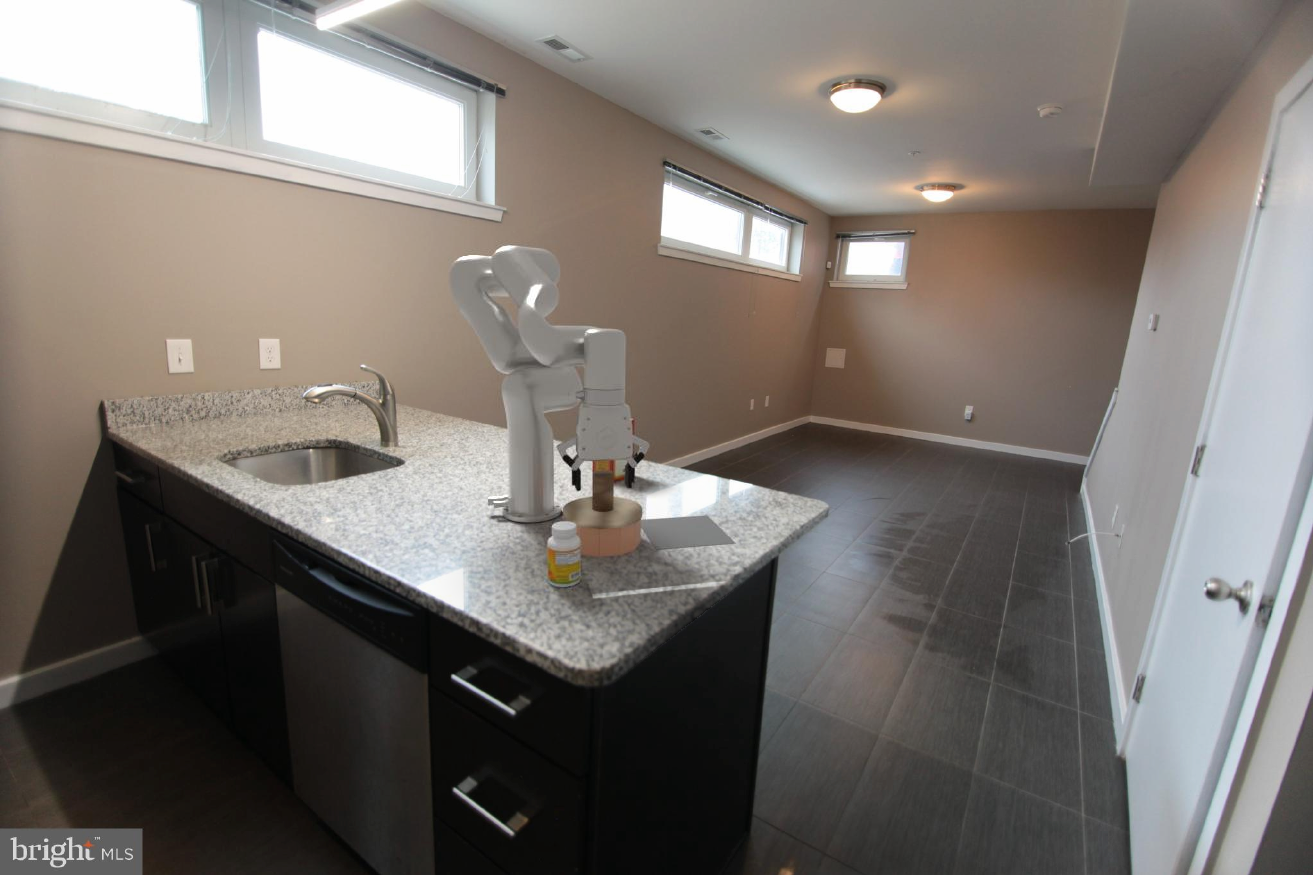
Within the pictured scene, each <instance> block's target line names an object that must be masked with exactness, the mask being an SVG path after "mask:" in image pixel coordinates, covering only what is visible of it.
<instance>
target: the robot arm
mask: <svg viewBox="0 0 1313 875" xmlns="http://www.w3.org/2000/svg"><path fill="white" fill-rule="evenodd" d="M560 277H561V266H560V263H559V260H558V258H557V257H556V256H555V254H554V253H553V252H551V251H549V250H547V249H545V248H539V247H529V246H520V245H505V246H501V247H500V248H498V249H496V251H494V253H493V254H492V255H491V256H489V255H488V256H486V255H476V254H475V255H467V256H462V257H459V258H457V259H456V260H454V262H452V264H451V266H450V268H449V273H448V279H449V280H448V281H449V282H448V283H449V290H450V292H451V293H450V294H451V296H452V299H453V301H454V303H455V305H456V308H457V309H458V310H459V312H460V313H461V316H463V317H464V319H465V320H466V321H467V322H468V324H469V325H470V326H471V327H472V329H473V331H474V332H475V334H476V336H477V339H478V340H479V342H480V344H481V345H482V347H483V349H484V351H485V353H486V355H487V357H488V359H489V361H490V362H491V364H492V365H493V367H494V368H495V370H497V371H498V372H499V373H501V374H506V375H505V377H504V379H503V380H502V384H501V396H502V397H501V398H502V403H503V405H504V411H505V416H506V417H505V418H506V425H507V451H508V454H507V455H508V456H507V458H508V490H507V494H506V493H505V494H502V496H494V495H493V496H488V497H487V505H488V506H493V508H494V509H496V508H502V516H503V517H504V518H505V519H507V520H509V521H512V522H517V523H518V522H519V523H539V522H541V523H542V522H546V521H549V520H553V519H555V518H557V517H559V516H560V515H561V513H562V506H561V504H559V503H558V502H557V501H555V468H554V465H555V463H554V462H555V461H554V458H555V455H554V453H555V452H554V450H555V448H556V449H557V450H556V451H558V453H559V455H560V457H561V459H562V461H563V462H564V463H565V464H566V465H568V467H569V468H571V485H572V486H573V487H574V488H575V490H576V492H581V491H582V490H581V489H582V471H581V468H580V467H581V466H582V464H583V463H585V462H593V461H609V460H626V461H627V464H626V465H625V479H624V485H625V487H627V489H632V488H633V484H634V483H635V480H636V479H635V478H636V476H635V475H636V468H637V467H638V464H639V463H640V462H642V461H643V459H644V458H645V456H646V454H647V452H648V450H649V448H650V443H649V442H648V441H646V440H644V439H641V438H639V437H638V436H636V435H635V434H634V435H632V422H631V419H632V415H631V408H630V405H628V404H626V363H627V362H626V358H627V357H626V355H627V353H626V352H627V337H626V334H625V333H624V331H623V330H620V329H617V328H616V329H615V328H600V327H596V326H593V325H592V326H591V325H552V324H550V323H549V322H548V321H547V319H545V318H546V317H547V316H549V315H550V314H551V313H552V312H553V311H554V310H555V309H556V307H557V306H558V304H559V300H560V291H559V288H558V287H557V284H558V283H559V281H560ZM492 297H503V298H505V297H507V298H509V297H510V298H511V299H512V301H513V302H514V303H515V305H516V306H517V307H518V308H519V309H518V314H517V324H516V323H515V321H514V320H513V317H512V316H511V314H510V312H509V311H508V310H507V308H505V307H504V306H503V305H501V304H500V303H499V302H498V301H496V300H495V299H493V298H492ZM575 367H583V383H582V380H581V378H580V375H579V373H578V371H577V370H576V368H575ZM581 400H582V402H583V403H580V402H581ZM578 405H579V408H578V415H577V421H576V433H575V435H573V436H572V437H570V438H567V439H566V440H564V441H562V442H560V443H559V444H557V445H556V447H555V446H554V444H555V443H554V432H553V428H552V426H551V424H550V423H549V422H548V420H547V418H546V417H545V413H549V412H559V411H564V410H570V409H573V408H575V407H577V406H578ZM633 443H634V445H636V446H639V447H638V448H639V449H638V451H636V453H634V456H633V457H631V456H632V453H633ZM573 446H575V451H576V455H574V456H573V458H572V457H571V456H570V455H568V452H567V450H568V449H570V448H572V447H573ZM554 447H555V448H554Z"/></svg>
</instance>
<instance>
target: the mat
mask: <svg viewBox="0 0 1313 875" xmlns="http://www.w3.org/2000/svg"><path fill="white" fill-rule="evenodd" d="M641 530H642V531H643V533H644V534H645V536H646V537H647V538H648V540H649V542H650V543H651V544H652V546H653V547H654V549H655V550H656V551H660V550H672V549H684V548H696V547H707V546H708V547H709V546H721V545H730V544H731V545H732V544H733V545H734V544H736V542H735V541H734V540H733V539H732V538H731V537H730V536H729V535H728V534H727V532H725V531H724V530H723V529H722V528H721V527H720V526H719V525H718V524H717V523H715V521H714V520H713V519H712V518H711V517H709V516H708V514H706V515H694V516H693V515H689V516H675V517H664V518H663V517H661V518H660V517H659V518H649V519H648V518H647V519H641Z"/></svg>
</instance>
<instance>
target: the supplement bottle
mask: <svg viewBox="0 0 1313 875" xmlns="http://www.w3.org/2000/svg"><path fill="white" fill-rule="evenodd" d="M576 532H577V528H576V524H575V523H573V522H569V521H565V520H563V521H561V520H560V521H556V522H554V523H553V524H552V525H551V535H552V536H550V537H549V538H548V540H547V550H546V551H547V582H548V583H549V584H550V585H551V586H553V587H557V588H568V587H569V586H570V587H572V586H576V585H577V584H579V583H580V582H581V578H582V577H581V576H582V575H581V570H582V568H581V566H582V564H581V560H582V559H581V555H582V554H581V541H580V538H579V537H578V536H576Z"/></svg>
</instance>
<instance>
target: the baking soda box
mask: <svg viewBox="0 0 1313 875" xmlns="http://www.w3.org/2000/svg"><path fill="white" fill-rule="evenodd" d="M631 422H632V435H634V436H635V419H634V418H631ZM634 451H635V444H634V443H633V453H632V456H631V457H633V456H634V455H635V452H634ZM626 464H627V461H626V460H609V461H592V469H591V470H592V473H591V474H592V475H593V472H594V471H597V470H609V471H613V472H614V483H616V481H617V482H620V481H622V480H625V479H624V478H625V465H626ZM621 479H622V480H621Z"/></svg>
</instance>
